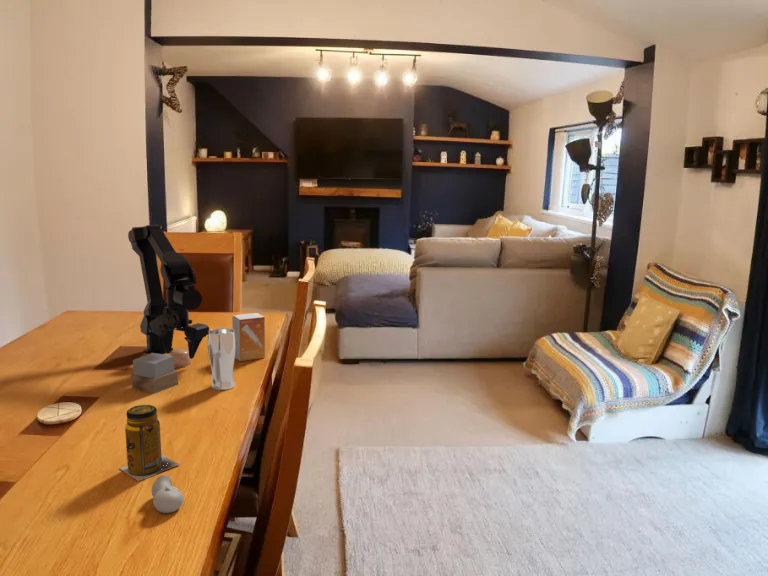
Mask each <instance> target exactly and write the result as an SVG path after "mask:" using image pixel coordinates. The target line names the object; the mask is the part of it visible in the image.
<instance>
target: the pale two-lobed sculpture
mask: <svg viewBox="0 0 768 576" xmlns="http://www.w3.org/2000/svg"><path fill="white" fill-rule="evenodd" d="M151 495H152V497H153V499H152V501H153V506H154V508H155V509H156V510H157V511H158V512H160V513H161V514H162V513H163V514H170V513H174V512H177V510H179V509H180V507H181V506H182V505H183V503H184V498H185V495H184V494H183V493H181V491H180V489H179V488H177V487H176V486H173V481H172V479H171V478H170V476H169V475H166V474H163V475H159V476H158V477H157V478H156V479H155V480H154V482H153V483H152V486H151Z"/></svg>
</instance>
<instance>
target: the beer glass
mask: <svg viewBox="0 0 768 576" xmlns="http://www.w3.org/2000/svg"><path fill="white" fill-rule="evenodd" d="M235 352H236V344H235V334H234V330H233V328H230V327H220V328H219V327H218V328H212V329H209V331H208V335H207V353H208V359H209V363H210V368H211V382H210V388H211V389H212V390H215V391H227V390H230V389H233V388H235V386H236V383H235V382H236V381H235V378H234V365H235V360H236V358H235Z"/></svg>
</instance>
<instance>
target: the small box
mask: <svg viewBox="0 0 768 576" xmlns="http://www.w3.org/2000/svg"><path fill="white" fill-rule="evenodd" d="M231 318H232V319H231V321H232V329H233V330H234V334H235V344H236V352H235V360H237V361H239V362H245V361H251V360H258V359H260V360H261V359H264V358H265V357H266V347H265V346H266V342H265V341H266V333H265V332H266V328H265V327H266V325H265V324H266V323H265V322H266V321H265V320H266V319H265V316H264V315H262V314H260V313H258V312H253V313H243V314H236V315H232V316H231Z"/></svg>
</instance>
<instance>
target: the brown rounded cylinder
mask: <svg viewBox="0 0 768 576" xmlns="http://www.w3.org/2000/svg"><path fill="white" fill-rule="evenodd" d="M169 356H174V367H176V368H175V369H181V367H182V368H186V366H187V367H189V366H191V359H190V357H189V350H188V348H187V349H185V348H180V349H178V348H177V349H173V350H171V352H170V353H169ZM188 365H189V366H188Z"/></svg>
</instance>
